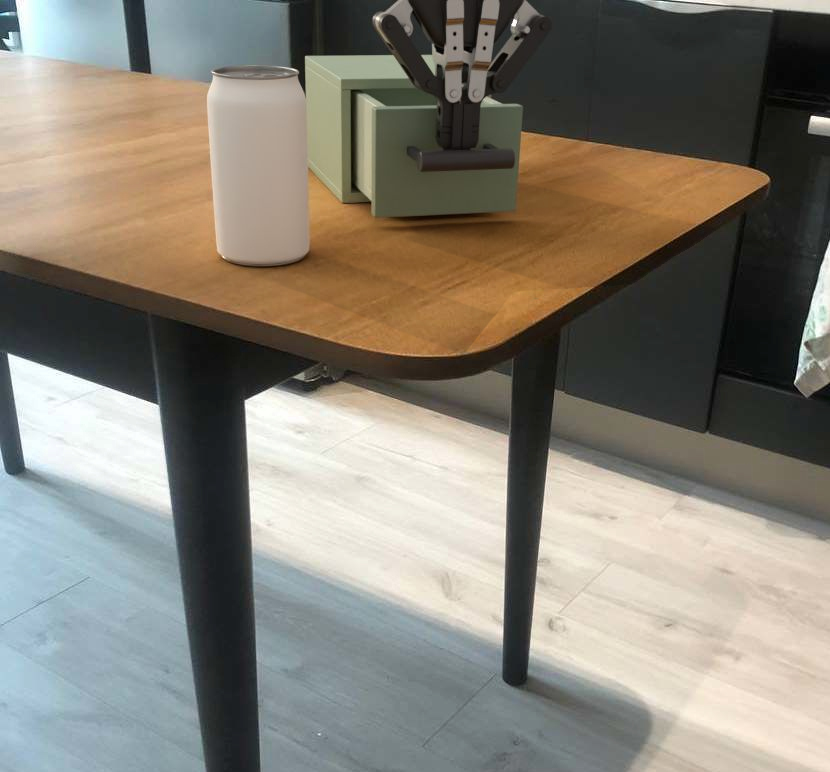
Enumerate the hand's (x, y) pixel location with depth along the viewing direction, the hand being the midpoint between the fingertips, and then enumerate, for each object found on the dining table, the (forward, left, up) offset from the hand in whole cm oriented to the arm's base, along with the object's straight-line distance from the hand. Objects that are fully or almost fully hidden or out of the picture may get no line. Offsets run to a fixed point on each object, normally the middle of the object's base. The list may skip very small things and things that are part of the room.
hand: (456, 154), depth 79 cm
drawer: (0, +6, -5) cm, 8 cm away
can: (-15, -3, -6) cm, 16 cm away
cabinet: (0, +18, -6) cm, 19 cm away
